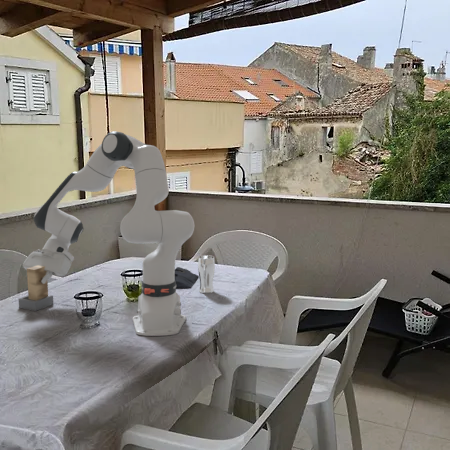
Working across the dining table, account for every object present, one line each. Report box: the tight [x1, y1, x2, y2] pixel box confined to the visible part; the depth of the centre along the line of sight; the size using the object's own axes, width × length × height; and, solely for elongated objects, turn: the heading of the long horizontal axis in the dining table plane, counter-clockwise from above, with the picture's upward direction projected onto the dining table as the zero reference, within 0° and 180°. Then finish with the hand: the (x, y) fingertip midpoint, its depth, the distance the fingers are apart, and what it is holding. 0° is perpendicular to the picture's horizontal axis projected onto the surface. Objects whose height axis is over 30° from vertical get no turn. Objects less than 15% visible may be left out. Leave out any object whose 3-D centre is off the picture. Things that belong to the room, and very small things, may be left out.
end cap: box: [18, 294, 54, 312], centre depth 192 cm, size 9×8×4 cm
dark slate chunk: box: [175, 266, 200, 290], centre depth 227 cm, size 15×22×5 cm
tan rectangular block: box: [26, 265, 49, 300], centre depth 192 cm, size 6×4×12 cm, turn 154°
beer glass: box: [197, 254, 216, 294], centre depth 211 cm, size 7×7×15 cm
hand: (36, 282), depth 192 cm, fingers closed on tan rectangular block, 4 cm apart
